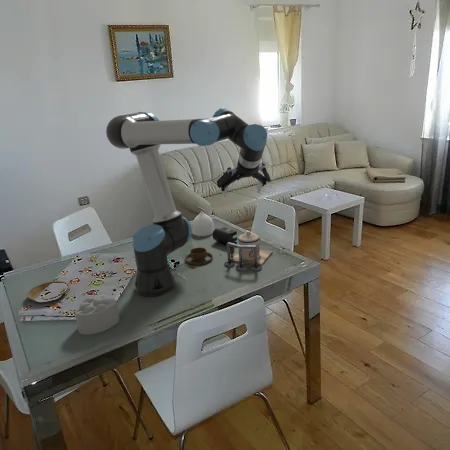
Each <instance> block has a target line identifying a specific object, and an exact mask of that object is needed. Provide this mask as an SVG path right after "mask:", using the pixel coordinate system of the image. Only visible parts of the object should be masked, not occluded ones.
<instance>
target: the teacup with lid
mask: <svg viewBox="0 0 450 450" xmlns="http://www.w3.org/2000/svg"><path fill="white" fill-rule="evenodd" d="M237 241H238V245H256V247H257V259H258V258H259V256H260V252H259V250H260V245H261V237H260V235H258V234H256V233H253V232H251V230H247V231H245V232H244V233H241V234H240V235H239V236H237ZM242 259H243V260H247V261H251V260H254V249H242Z"/></svg>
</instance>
